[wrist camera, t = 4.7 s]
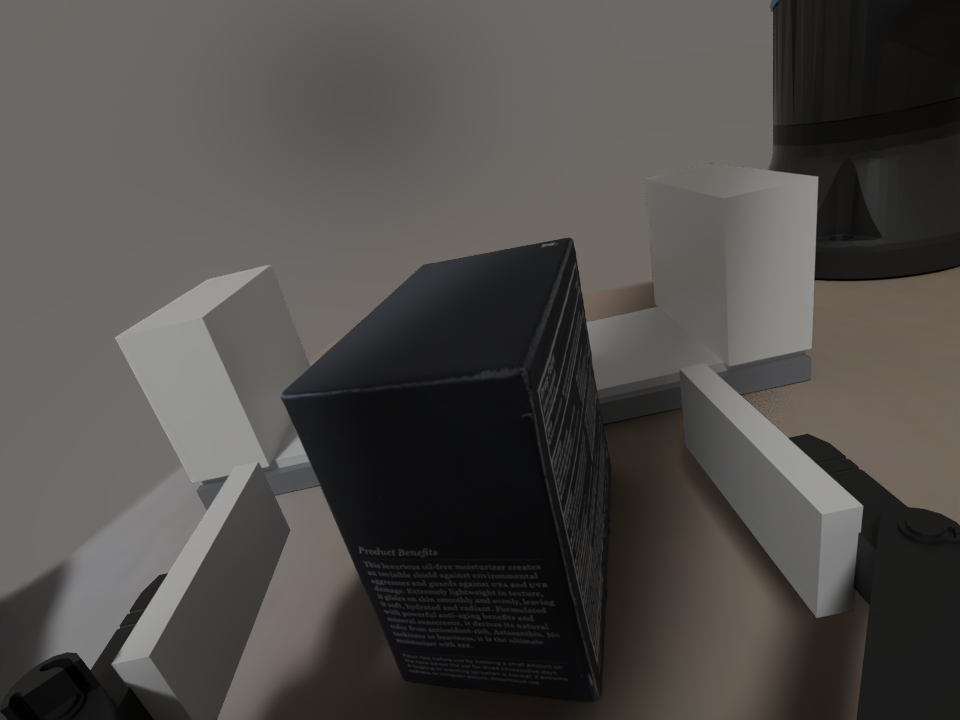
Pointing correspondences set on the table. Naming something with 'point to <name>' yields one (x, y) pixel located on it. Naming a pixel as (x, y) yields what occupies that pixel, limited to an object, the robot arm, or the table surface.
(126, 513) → the table surface
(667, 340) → the panel
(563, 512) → the small box
